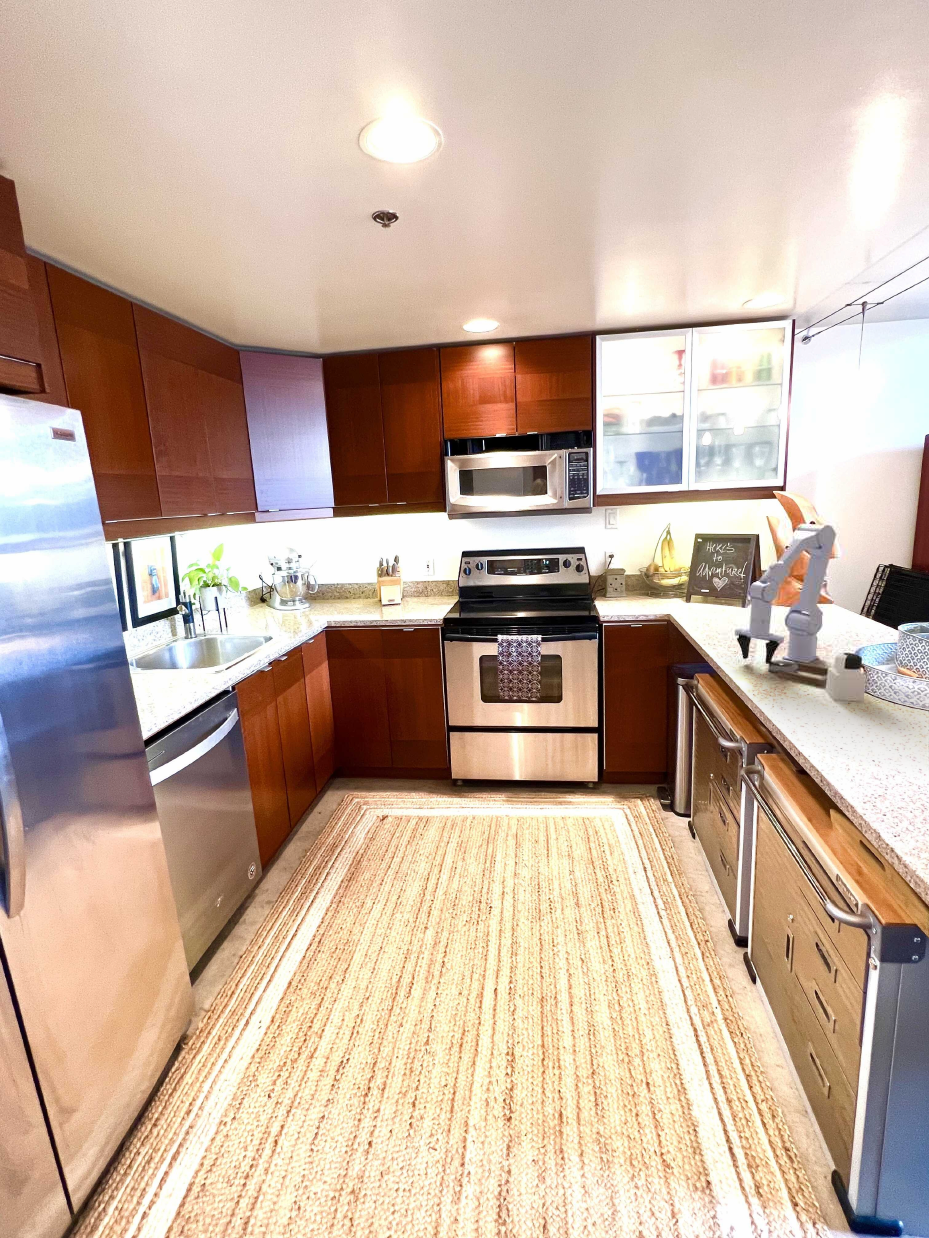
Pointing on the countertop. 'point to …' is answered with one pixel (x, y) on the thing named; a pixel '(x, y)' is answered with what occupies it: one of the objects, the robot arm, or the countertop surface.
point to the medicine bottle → (846, 678)
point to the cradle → (805, 678)
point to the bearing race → (782, 666)
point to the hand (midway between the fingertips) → (756, 660)
